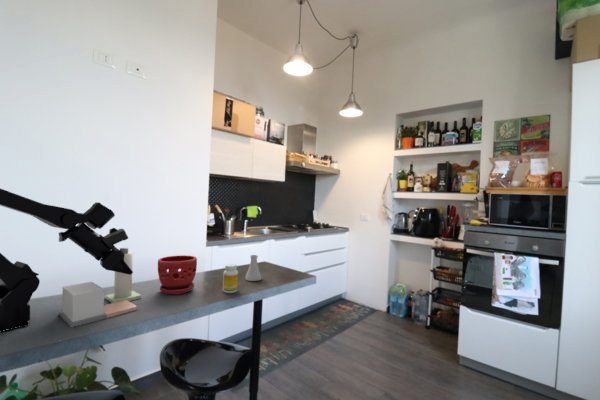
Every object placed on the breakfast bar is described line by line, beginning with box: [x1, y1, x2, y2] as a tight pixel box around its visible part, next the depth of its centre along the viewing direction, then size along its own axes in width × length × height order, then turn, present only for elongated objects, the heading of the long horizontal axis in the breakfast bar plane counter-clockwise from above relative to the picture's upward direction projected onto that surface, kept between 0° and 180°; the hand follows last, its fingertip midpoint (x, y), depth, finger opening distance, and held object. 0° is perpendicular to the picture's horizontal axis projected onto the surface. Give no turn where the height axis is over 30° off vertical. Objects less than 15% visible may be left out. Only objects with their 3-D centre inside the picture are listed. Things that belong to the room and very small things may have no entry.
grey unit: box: [58, 281, 108, 328], centre depth 82 cm, size 8×12×8 cm, turn 52°
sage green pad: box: [104, 289, 142, 304], centre depth 96 cm, size 8×8×1 cm
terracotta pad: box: [104, 300, 138, 319], centre depth 87 cm, size 8×8×1 cm
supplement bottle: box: [222, 263, 239, 294], centre depth 107 cm, size 5×5×10 cm
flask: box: [244, 254, 262, 282], centre depth 123 cm, size 7×7×10 cm
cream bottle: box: [113, 247, 134, 298], centre depth 96 cm, size 5×5×16 cm
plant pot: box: [157, 255, 198, 295], centre depth 106 cm, size 13×13×12 cm
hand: (128, 270), depth 97 cm, fingers open, 9 cm apart
